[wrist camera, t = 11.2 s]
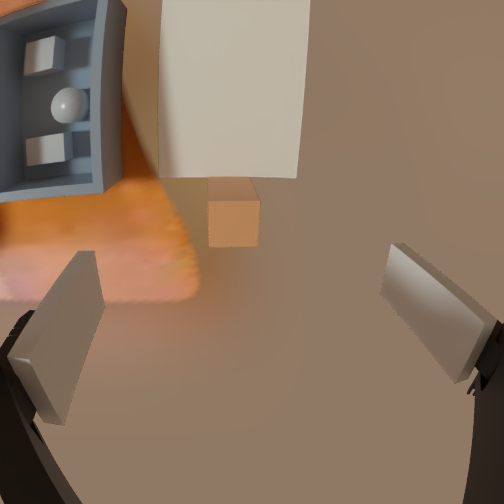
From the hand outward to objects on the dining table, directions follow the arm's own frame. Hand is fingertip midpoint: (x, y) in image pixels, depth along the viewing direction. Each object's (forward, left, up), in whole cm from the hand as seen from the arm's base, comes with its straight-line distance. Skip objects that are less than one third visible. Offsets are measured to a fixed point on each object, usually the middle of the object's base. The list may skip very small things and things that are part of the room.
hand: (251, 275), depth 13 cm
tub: (-9, -15, -17) cm, 24 cm away
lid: (-9, 0, -17) cm, 19 cm away
